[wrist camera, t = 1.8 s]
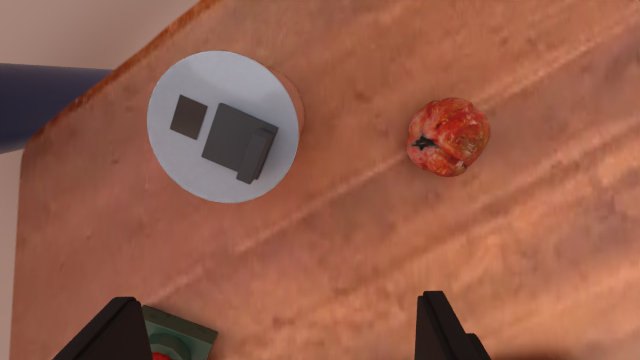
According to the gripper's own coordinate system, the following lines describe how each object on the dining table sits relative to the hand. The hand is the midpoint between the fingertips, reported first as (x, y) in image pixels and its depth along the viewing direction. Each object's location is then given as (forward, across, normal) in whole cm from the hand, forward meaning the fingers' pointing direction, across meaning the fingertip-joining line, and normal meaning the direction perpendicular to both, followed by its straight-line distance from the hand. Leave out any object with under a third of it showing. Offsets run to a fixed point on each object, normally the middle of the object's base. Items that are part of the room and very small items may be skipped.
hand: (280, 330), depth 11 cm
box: (+26, +20, +24) cm, 41 cm away
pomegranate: (+26, -13, -2) cm, 29 cm away
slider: (+14, +4, -4) cm, 15 cm away
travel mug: (+26, +6, -5) cm, 27 cm away
